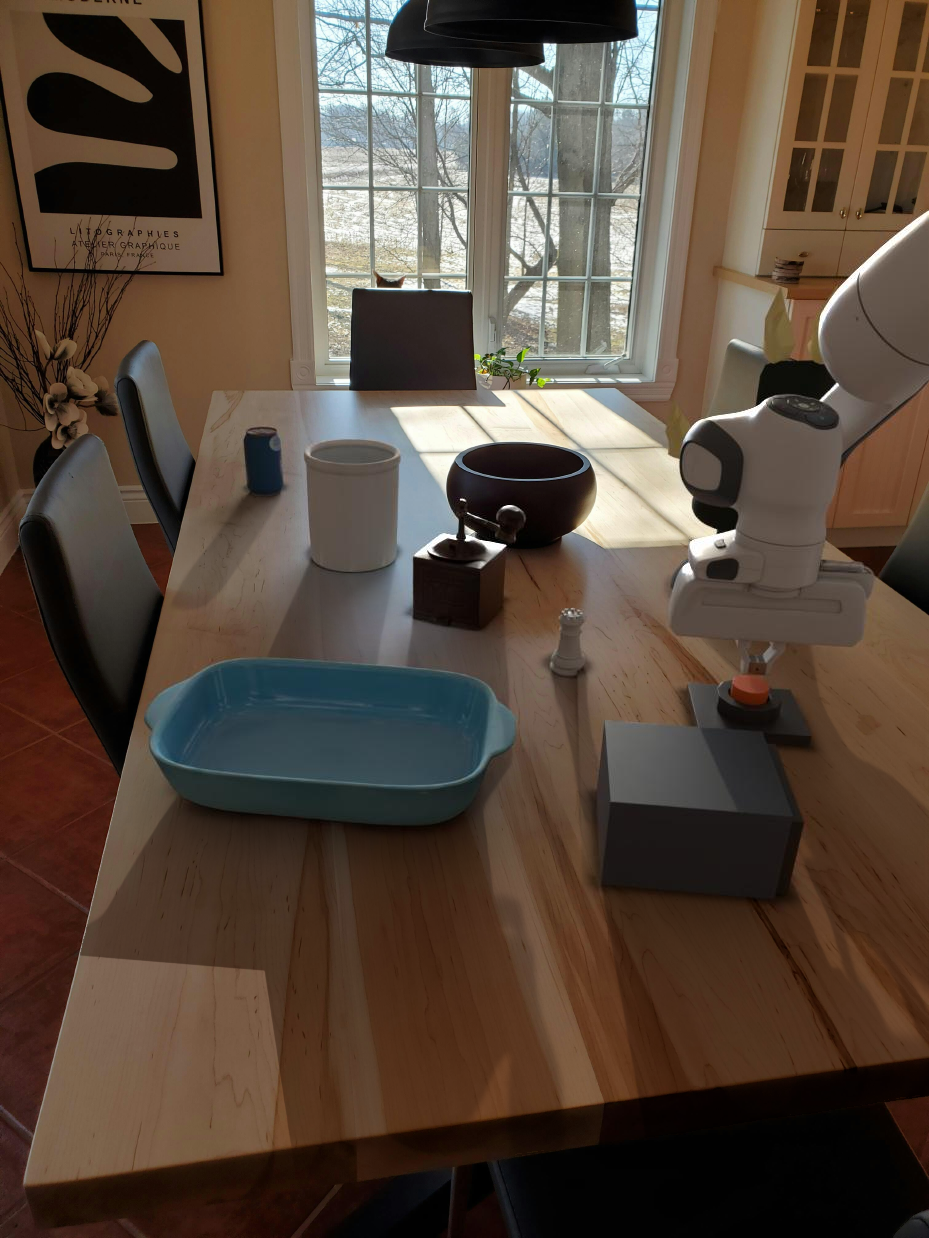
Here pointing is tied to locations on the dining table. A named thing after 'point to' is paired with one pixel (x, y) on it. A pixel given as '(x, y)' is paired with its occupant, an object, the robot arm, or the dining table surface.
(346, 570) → the utensil holder
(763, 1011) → the dining table surface
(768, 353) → the black plant vase
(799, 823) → the drawer
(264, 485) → the soda can
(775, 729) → the button box
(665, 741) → the cabinet
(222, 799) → the casserole dish
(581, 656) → the rook chess piece
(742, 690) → the button
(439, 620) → the manual coffee grinder
